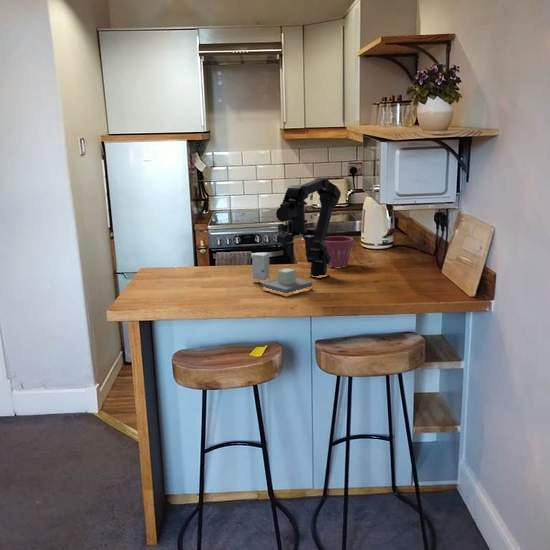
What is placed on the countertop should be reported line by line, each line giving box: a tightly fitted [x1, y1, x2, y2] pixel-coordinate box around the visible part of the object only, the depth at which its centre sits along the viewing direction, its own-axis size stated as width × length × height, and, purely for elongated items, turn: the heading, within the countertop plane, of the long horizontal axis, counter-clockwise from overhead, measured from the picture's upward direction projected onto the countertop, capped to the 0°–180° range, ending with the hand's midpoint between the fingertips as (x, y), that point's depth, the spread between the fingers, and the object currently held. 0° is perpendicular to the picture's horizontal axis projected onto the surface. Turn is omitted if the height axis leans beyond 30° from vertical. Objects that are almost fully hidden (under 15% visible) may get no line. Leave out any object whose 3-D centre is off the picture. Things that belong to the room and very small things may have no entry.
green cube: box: [277, 267, 297, 285], centre depth 226 cm, size 5×5×5 cm
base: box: [261, 277, 313, 293], centre depth 227 cm, size 14×14×3 cm
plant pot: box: [325, 235, 354, 267], centre depth 261 cm, size 14×14×13 cm
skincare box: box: [251, 252, 270, 280], centre depth 239 cm, size 6×4×12 cm
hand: (299, 256), depth 232 cm, fingers open, 9 cm apart
